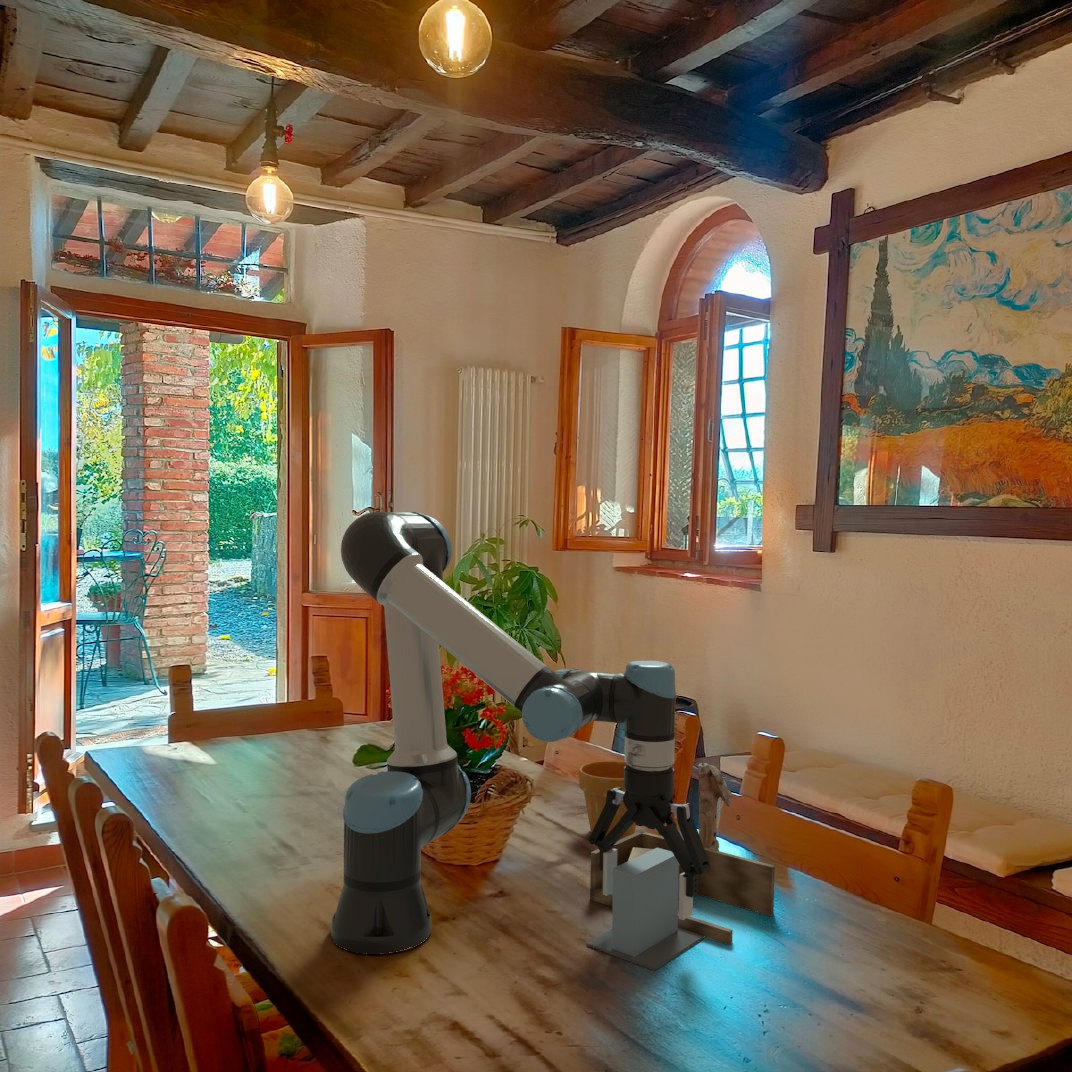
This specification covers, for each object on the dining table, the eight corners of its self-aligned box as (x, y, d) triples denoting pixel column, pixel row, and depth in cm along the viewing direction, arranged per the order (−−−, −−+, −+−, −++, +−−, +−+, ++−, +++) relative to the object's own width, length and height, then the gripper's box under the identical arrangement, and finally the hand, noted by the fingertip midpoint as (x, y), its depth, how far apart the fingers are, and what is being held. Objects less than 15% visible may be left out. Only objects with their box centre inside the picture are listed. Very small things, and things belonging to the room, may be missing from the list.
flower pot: (647, 823, 204) (648, 762, 203) (648, 846, 190) (649, 780, 189) (580, 820, 205) (581, 759, 205) (576, 842, 191) (577, 777, 191)
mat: (586, 945, 145) (586, 943, 145) (638, 916, 156) (638, 914, 156) (654, 970, 137) (654, 967, 137) (704, 938, 148) (704, 935, 148)
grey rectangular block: (611, 948, 143) (613, 868, 143) (655, 923, 152) (657, 847, 152) (634, 956, 141) (635, 874, 140) (677, 930, 150) (679, 853, 150)
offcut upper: (626, 884, 161) (627, 863, 161) (632, 867, 169) (633, 847, 169) (656, 886, 160) (657, 865, 160) (661, 869, 168) (661, 849, 168)
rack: (590, 899, 163) (590, 852, 162) (639, 874, 174) (640, 830, 174) (729, 945, 146) (730, 892, 146) (773, 914, 158) (774, 865, 157)
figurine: (742, 884, 170) (744, 771, 170) (695, 880, 172) (697, 768, 172) (742, 863, 181) (744, 757, 180) (697, 860, 182) (699, 754, 182)
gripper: (568, 755, 151) (566, 890, 152) (709, 785, 135) (706, 936, 136) (596, 746, 157) (594, 876, 157) (735, 774, 141) (732, 919, 141)
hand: (646, 904), depth 146 cm, fingers open, 13 cm apart
